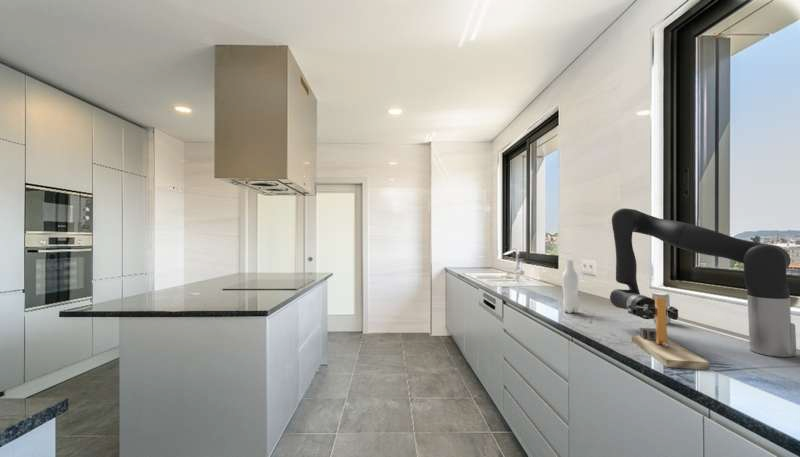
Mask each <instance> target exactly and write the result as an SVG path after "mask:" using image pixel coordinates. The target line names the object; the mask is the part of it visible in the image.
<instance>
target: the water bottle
mask: <svg viewBox="0 0 800 457" xmlns="http://www.w3.org/2000/svg"><path fill="white" fill-rule="evenodd" d="M561 282H562V283H561V284H562V292H563V299H562V300H563V302H562V308H563V312H565V313H568V314H572V313H574V314H577V313H578V312H579V309H580V303H579V299H578V298H579V297H578V295H579V293H578V292H579V276H578V273H577V272H576V270H575V268H574V261H573V260H570V259H567V260H566V261H565V269H564V270H563V273H562V276H561Z"/></svg>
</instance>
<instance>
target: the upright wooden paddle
mask: <svg viewBox="0 0 800 457" xmlns="http://www.w3.org/2000/svg"><path fill="white" fill-rule="evenodd" d="M655 319H656V323H655V328H656V329H654V330H647V339H655V340H656V343H657V344H662V345H664V346H666V347H667V348H669V347H670V345H669V344H667V338H668V332H667V331H668V330H667V327H668V326H667V324H668V323H666V298H665V297H655ZM650 332H656V338H654V337H650Z"/></svg>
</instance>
